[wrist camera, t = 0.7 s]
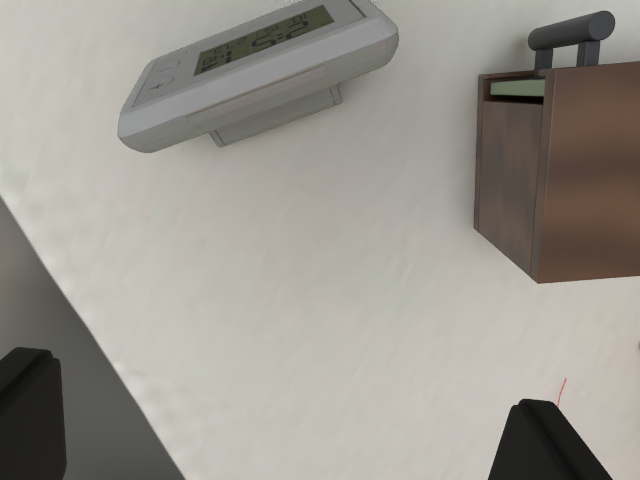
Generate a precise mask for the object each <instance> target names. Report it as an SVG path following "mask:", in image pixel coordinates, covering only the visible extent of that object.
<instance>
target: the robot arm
mask: <svg viewBox="0 0 640 480" xmlns="http://www.w3.org/2000/svg"><path fill="white" fill-rule="evenodd" d="M66 464H67V460H66V444H65V429H64V413H63V396H62V381H61V365H60V361H59V359H56V358H53V355H52V353H51V351H49V350H44V349H35V348H24V347H17V348H15V349H14V350H12V351H11V352H10V353H8V355H6V356H5V357H4V358H3V359H1V361H0V480H62V479H63V477H64V474H65V470H66ZM488 480H613V479H612V478H611V477H610V475H609V474H608V473H607V471H606V470H605V469H604V467H603V466H602V465H601V463H600V462H599V461H598V460H597V458H596V457H595V456H594V454H593V453H592V452H591V450H590V449H589V448H588V446H587V445H586V444H585V443H584V441H583V440H582V439H581V437H580V436H579V435H578V433H577V432H576V431H575V429H574V428H573V427H572V426H571V424H570V423H569V422H568V420H567V419H566V418H565V416H564V415H563V414H562V412H561V411H560V410H559V409H558V407H557V406H556V405H555V404H554V403H553V402H550V401H543V400H533V399H522V400H521V401H520V402H519V404H518V405H513V406H512V407H511V410H510V412H509V415H508V418H507V422H506V425H505V428H504V431H503V434H502V437H501V440H500V443H499V446H498V450H497V453H496V456H495V459H494V462H493V465H492V468H491V471H490V474H489V478H488Z"/></svg>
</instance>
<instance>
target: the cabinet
mask: <svg viewBox="0 0 640 480" xmlns="http://www.w3.org/2000/svg"><path fill="white" fill-rule="evenodd" d="M543 75H546V77H545V90H544V96H518V95H491V94H490V91H491V83H495V82H507V81H519V80H531V79H534V70H531V71H519V72H507V73H495V74H483V75H479V88H478V120H477V151H476V183H475V214H474V229H475V230H477V231H478V232H479V233H480V234H481V235H482V236H484V237H485V238H486V239H487V240H488V241H489V242H490V243H492V244H493V245H494V246H495V247H496V248H497V249H499V250H500V251H501V252H502V253H503V254H504V255H505V256H507V257H508V258H509V259H510V260H511V261H512V262H513V263H515V264H516V265H517V266H518V267H519V268H520V269H522V270H523V271H524V272H525V273H526V274H527V275H528V276H530V277H531V278H532V279H533V280H534V281H535V282H536V283H538V284H541V283H554V282H566V281H579V280H592V279H605V278H618V277H630V276H640V61H638V62H626V63H614V64H602V65H591V66H579V67H567V68H555V69H543V70H539V72H538V76H543Z"/></svg>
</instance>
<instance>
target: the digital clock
mask: <svg viewBox="0 0 640 480" xmlns="http://www.w3.org/2000/svg"><path fill="white" fill-rule="evenodd" d="M398 40H399V36H398V28H397V26H396V25H395V24H394V23H393V22H392V21H391V20H390V19H389V18H388V17H387V16H386V15H385V14H384V13H383V12H382V11H380V10H379V9H378V8H377V7H376V6H375V5H374V4H373V3H371V2H370V1H369V0H303V1H300V2H298V3H295V4H293V5H290V6H287V7H285V8H282V9H280V10H277V11H275V12H272V13H270V14H267V15H265V16H262V17H260V18H257V19H255V20H252V21H250V22H247V23H244V24H242V25H239V26H237V27H234V28H232V29H229V30H227V31H224V32H222V33H219V34H217V35H214V36H212V37H209V38H206V39H204V40H201V41H199V42H196V43H194V44H191V45H189V46H186V47H184V48H181V49H179V50H176V51H174V52H171V53H169V54H166V55H164V56H161V57H159V58H157V59H154V60H153V61H151V62H150V63H149V64H147V66H146V67H145V69H144V70H143V72H142V74H141V76H140V77H139V79H138V81H137V83H136V84H135V86H134V88H133V90H132V91H131V93H130V95H129V97H128V98H127V100H126V102H125V104H124V105H123V107H122V109H121V112H120V116H119V123H118V137H119V139H120V140H121V141H122V142H123V143H124V144H125V145H126V146H128V147H129V148H131V149H134V150H136V151H139V152H143V153H152V152H156V151H159V150H161V149H164V148H167V147H170V146H172V145H175V144H178V143H181V142H183V141H186V140H189V139H192V138H194V137H197V136H200V135H202V134H205V133H209V134H210V135H211V137H212V139H213V140H214V142H215V143H216V145H217V146H218V147H223V146H226V145H228V144H231V143H234V142H237V141H239V140H242V139H245V138H247V137H250V136H253V135H256V134H258V133H261V132H264V131H266V130H269V129H272V128H275V127H277V126H280V125H283V124H285V123H288V122H291V121H293V120H296V119H299V118H302V117H304V116H307V115H310V114H312V113H315V112H318V111H321V110H323V109H326V108H329V107H331V106H334V105H337V104H340V103H342V99H341V96H340V92H339V89H338V85H337V84H339V83H342V82H344V81H347V80H349V79H352V78H355V77H357V76H360V75H363V74H365V73H368V72H370V71H373V70H375V69H378V68H380V67H382V66H384V65H386V64H387V63H388V62H389V61H390V60H391V58H392V57H393V55H394V53H395V51H396V49H397V46H398Z"/></svg>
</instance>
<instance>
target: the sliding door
mask: <svg viewBox="0 0 640 480" xmlns="http://www.w3.org/2000/svg"><path fill="white" fill-rule="evenodd" d="M614 27H615V18H614V16H613V15H612V14H611V13H610V12H608V11H600V12H596V13H592V14H589V15H585V16H581V17H577V18H574V19H570V20H566V21H563V22H559V23H555V24H552V25H548V26H544V27H540V28H537V29H535V30H533V31H532V32H531V33H530V35H529V37H528V45H529V47H530V48H531V49H532V50H534V51H536V56H535V70H534V79H531V80H519V81H507V82H495V83H491V91H490V94H491V95H518V96H544V90H545V77H546V75H543V76H538V72H539V70H543V69H552V57H553V48H558V47H564V46H570V45H576V44H578V54H577V64H576V67H579V66H591V65H598V58H599V49H600V40H604V39H606V38H607V37H609V36H610V35H611V33H612V32H613V30H614Z"/></svg>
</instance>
